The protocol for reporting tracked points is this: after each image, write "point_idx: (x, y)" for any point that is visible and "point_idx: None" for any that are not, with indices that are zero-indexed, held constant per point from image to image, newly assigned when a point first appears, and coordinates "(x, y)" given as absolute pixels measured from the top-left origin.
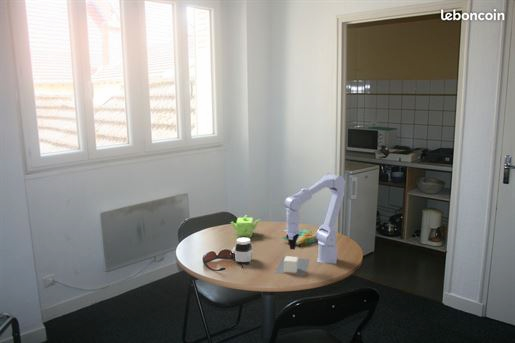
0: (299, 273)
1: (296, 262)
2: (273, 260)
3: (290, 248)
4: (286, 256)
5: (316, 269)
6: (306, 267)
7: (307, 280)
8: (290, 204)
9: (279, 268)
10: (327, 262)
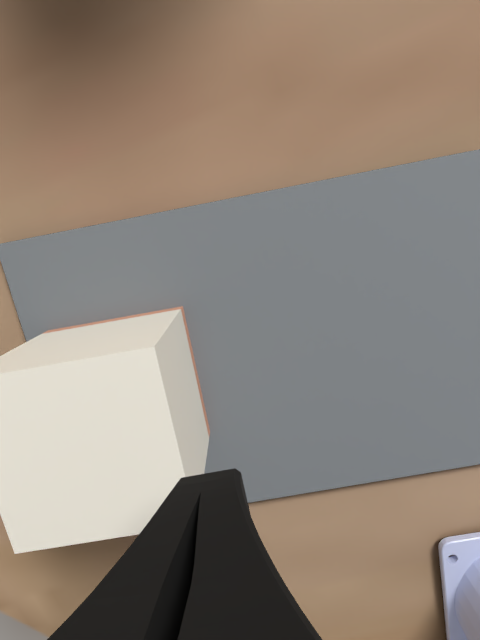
0: None
1: (28, 542)
2: (370, 67)
3: (174, 491)
4: (142, 361)
5: (284, 567)
6: (273, 493)
7: (25, 561)
8: None
9: (134, 245)
10: (454, 626)
